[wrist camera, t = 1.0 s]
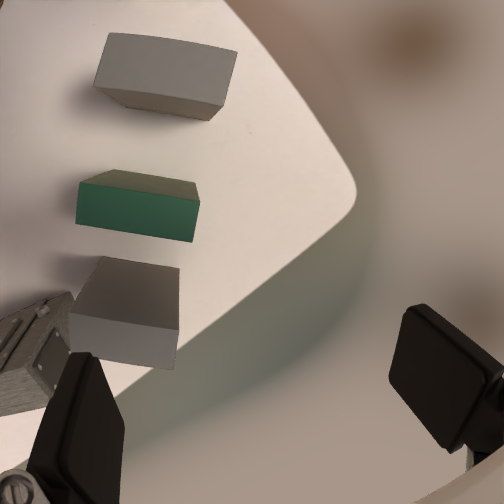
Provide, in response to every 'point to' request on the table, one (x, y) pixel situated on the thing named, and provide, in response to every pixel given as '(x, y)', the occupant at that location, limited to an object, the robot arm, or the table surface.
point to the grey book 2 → (128, 314)
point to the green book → (139, 204)
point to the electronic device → (33, 354)
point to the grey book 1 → (165, 75)
